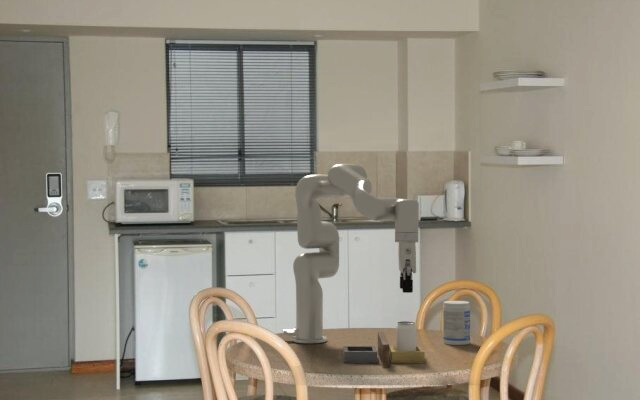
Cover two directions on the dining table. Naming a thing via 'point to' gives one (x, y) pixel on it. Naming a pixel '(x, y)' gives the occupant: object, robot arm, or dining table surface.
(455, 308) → the supplement tub
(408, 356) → the brass keeper
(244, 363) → the dining table surface
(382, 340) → the brown wooden plank
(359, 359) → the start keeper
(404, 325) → the can
